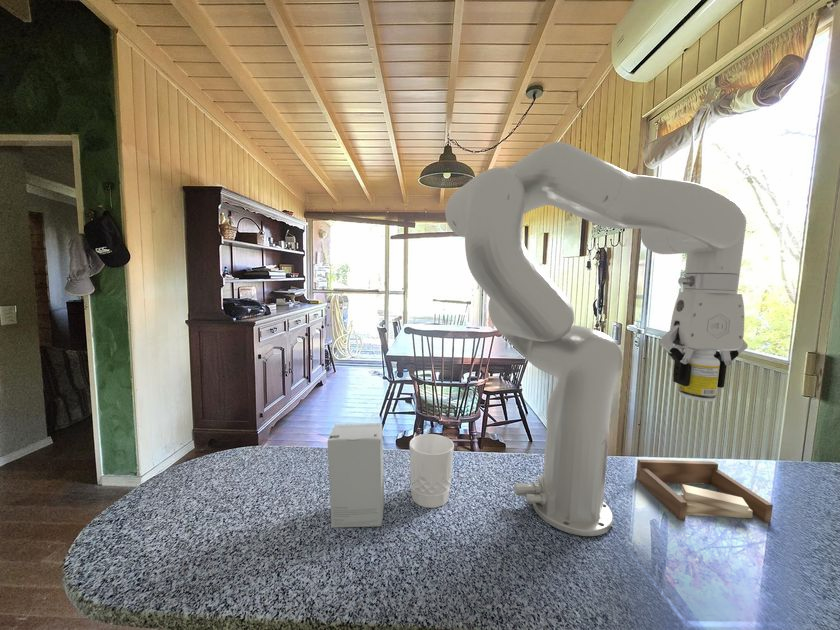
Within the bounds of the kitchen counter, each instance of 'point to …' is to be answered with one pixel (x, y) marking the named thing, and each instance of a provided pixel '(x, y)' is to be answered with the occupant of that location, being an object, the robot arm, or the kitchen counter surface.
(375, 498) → the skincare box
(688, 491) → the top offcut
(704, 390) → the supplement bottle
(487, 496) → the kitchen counter surface
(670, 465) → the walnut rack
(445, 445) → the white cup
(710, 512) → the middle offcut
